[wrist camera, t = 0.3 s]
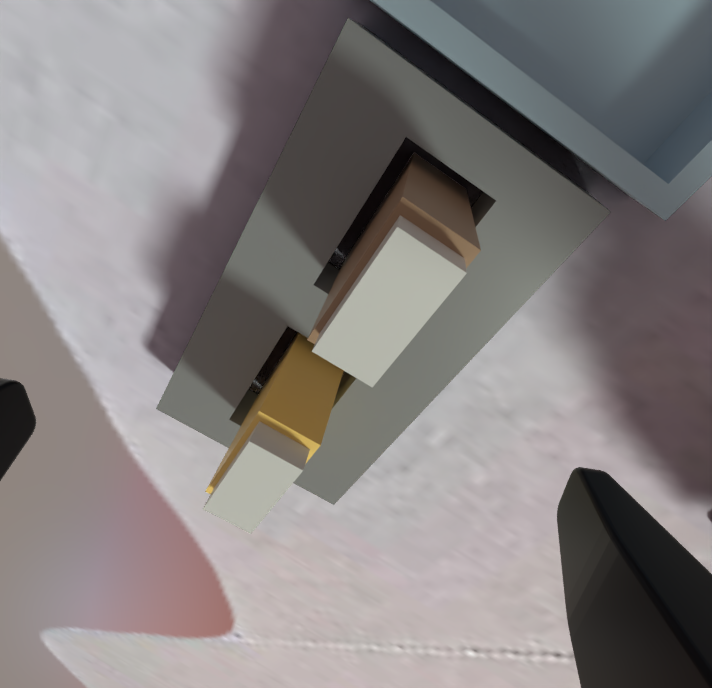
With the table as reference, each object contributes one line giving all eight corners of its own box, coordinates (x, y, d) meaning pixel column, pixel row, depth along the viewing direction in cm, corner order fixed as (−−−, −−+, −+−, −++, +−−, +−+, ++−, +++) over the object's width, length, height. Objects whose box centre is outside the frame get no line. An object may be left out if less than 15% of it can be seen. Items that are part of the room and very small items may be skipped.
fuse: (352, 342, 22) (314, 466, 15) (302, 409, 25) (251, 541, 18) (308, 315, 22) (248, 430, 15) (262, 386, 24) (194, 512, 17)
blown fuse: (466, 188, 18) (484, 264, 11) (392, 288, 20) (370, 400, 14) (413, 152, 18) (399, 207, 11) (345, 257, 20) (298, 357, 13)
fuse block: (589, 194, 17) (610, 212, 15) (342, 469, 26) (333, 504, 24) (359, 24, 16) (348, 17, 14) (180, 379, 25) (156, 408, 23)
